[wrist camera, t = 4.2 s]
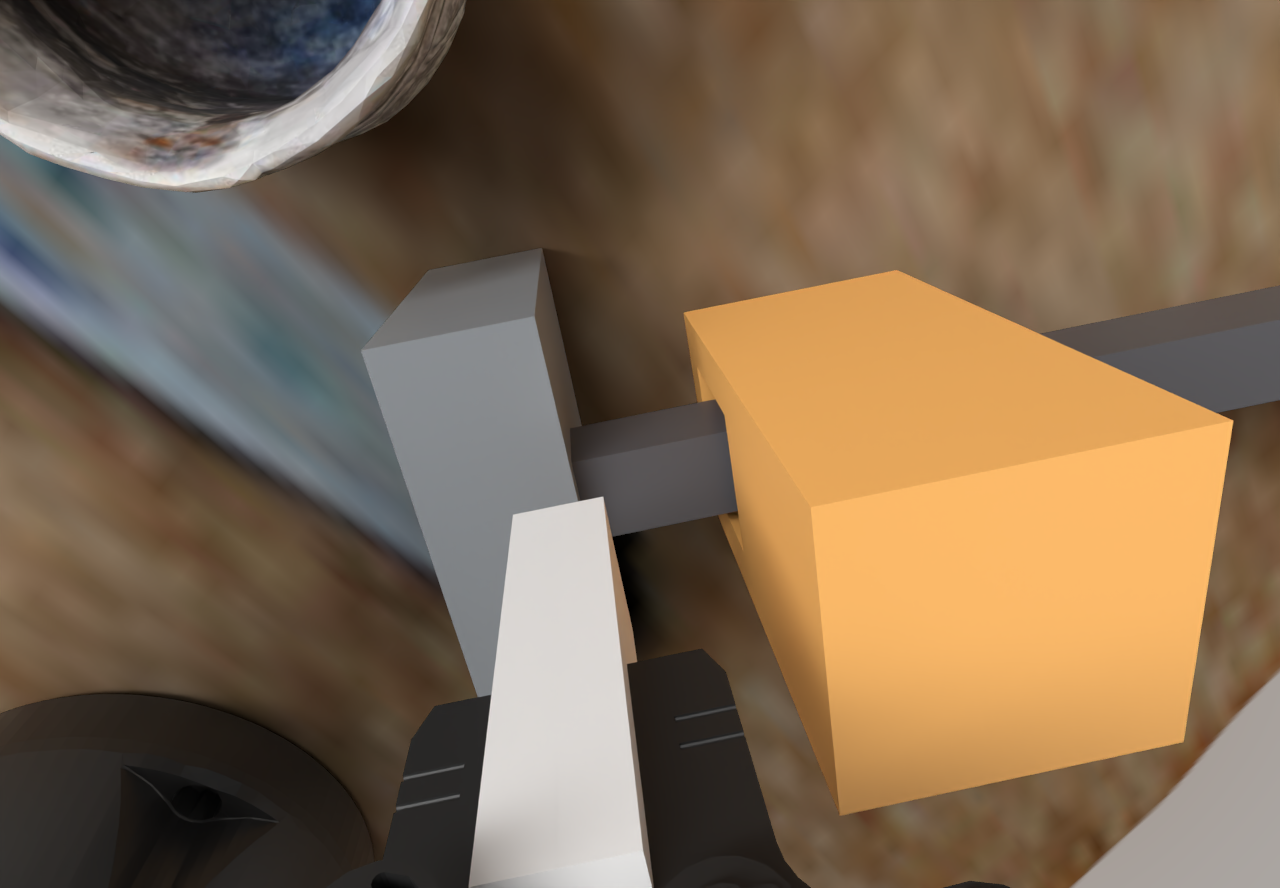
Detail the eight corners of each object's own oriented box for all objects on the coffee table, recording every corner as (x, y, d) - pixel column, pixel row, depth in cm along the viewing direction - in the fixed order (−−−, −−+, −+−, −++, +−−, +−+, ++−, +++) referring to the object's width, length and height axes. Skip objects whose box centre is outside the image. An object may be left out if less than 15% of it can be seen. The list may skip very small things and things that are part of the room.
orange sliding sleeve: (712, 502, 19) (839, 815, 11) (683, 312, 17) (810, 507, 9) (904, 463, 20) (1183, 741, 11) (896, 270, 17) (1232, 420, 9)
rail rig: (503, 531, 23) (474, 762, 15) (428, 270, 20) (338, 378, 12) (1427, 343, 24) (1890, 464, 15) (1500, 60, 20) (2134, 22, 12)
